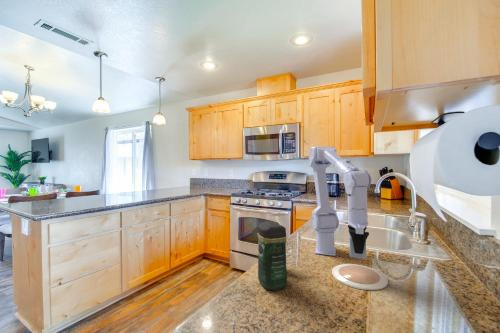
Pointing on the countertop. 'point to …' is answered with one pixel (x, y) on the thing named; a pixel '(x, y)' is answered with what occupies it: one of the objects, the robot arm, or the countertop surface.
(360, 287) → the plate
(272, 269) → the coffee jar
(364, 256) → the block
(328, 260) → the countertop surface
